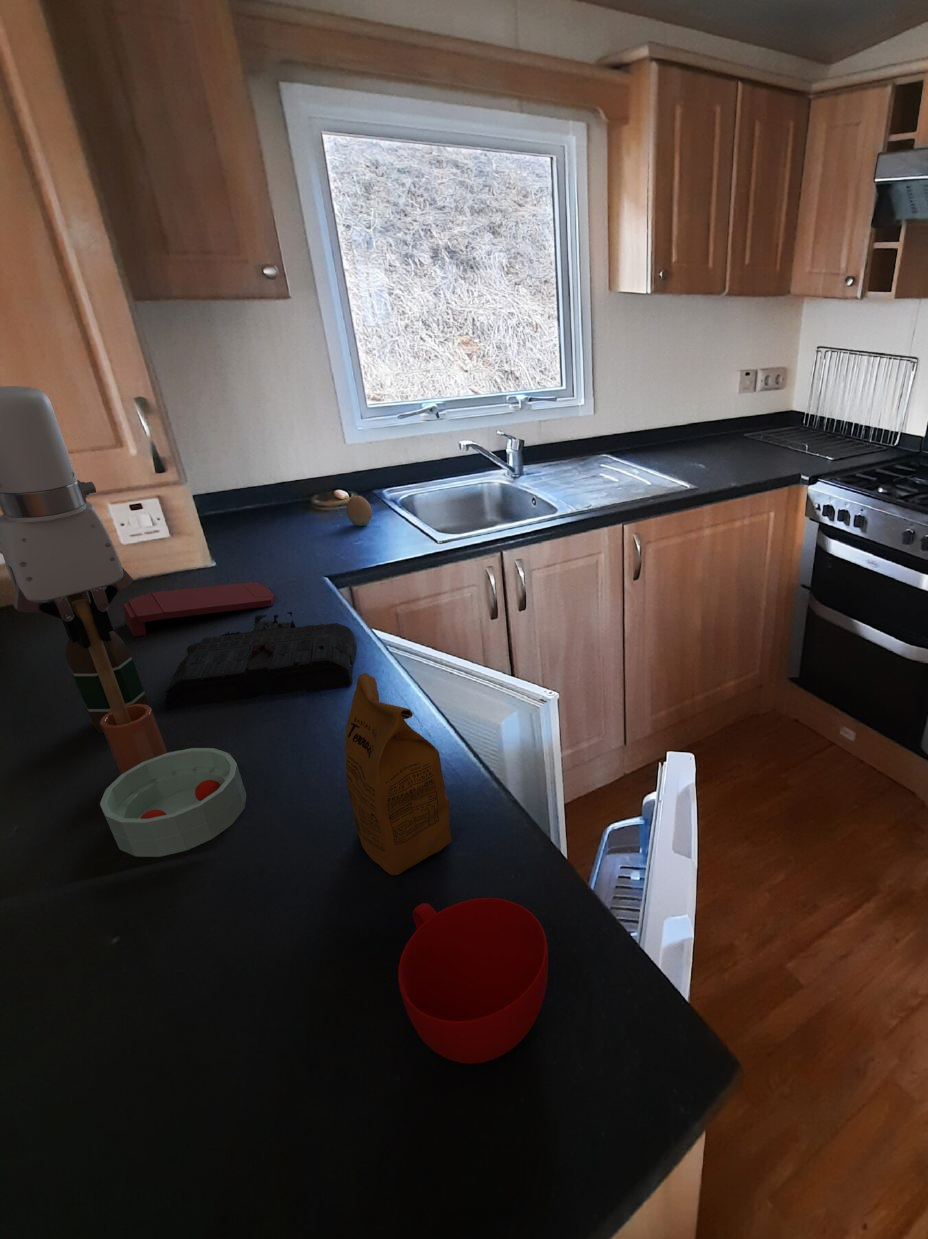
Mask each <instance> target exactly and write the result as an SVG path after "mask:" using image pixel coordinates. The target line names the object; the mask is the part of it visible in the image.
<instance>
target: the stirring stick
mask: <svg viewBox="0 0 928 1239" xmlns="http://www.w3.org/2000/svg"><path fill="white" fill-rule="evenodd" d="M72 606H73V608H74V611H75V613H76V616H77V617H79V618H80V619H81V620H82V623H83V625H84V628H85V631H86V633H87V636H88V639H89V642H90V644H91V646H89V648H88V649H89V651H90V654H91V657H92V660H93V662H94V665H95V668H96V670H97V673H98V676H99V678H100V681H101V684H102V686H103V689H104V692H105V695H106V697H107V700H108V703H109V705H110V708H111V711H112V713H113V716H114V719H115V721H116V724H117V725H122V724H128V723H130V722H132V721H131V719H130V716H129V714H128V711H127V708H126V705H125V703H124V700H123V697H122V694H121V691H120V689H119V686H118V683H117V680H116V678H115V675H114V672H113V669H112V666H111V664H110V661H109V658H108V655H107V653H106V650H105V647H104V644H103V641H102V639H101V636H100V633H99V631H98V628H97V625H96V622H95V620H94V617H93V614H92V611H91V608H90V605H89V603H88V600H87V599H80V600H76V601H73V602H72Z"/></svg>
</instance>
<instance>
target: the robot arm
mask: <svg viewBox="0 0 928 1239" xmlns="http://www.w3.org/2000/svg"><path fill="white" fill-rule="evenodd" d="M68 451H69V450H68V448H67V445H66V442H65V439H64V436H63V432H62V431H61V428H60V425H59V421H58V419H57V416H56V413H55V410H54V407H53V404H52V402H51V400H50V398H49V397H48V396H47V394H46V393H45V392H44V391H42V390H40V389H38V388H36V387H31V386H23V385H22V386H21V385H20V386H19V385H18V386H16V385H11V386H10V385H8V386H7V385H6V386H0V509H1V512H2V514H0V550H1V554H2V558H3V560H4V563H5V566H6V569H7V572H8V575H9V578H10V581H11V584H12V586H13V587H14V599H13V608H14V609H15V610H16V611H18V612H19V613H44V614H47V615H50V616H53V617H55V618H58V619H61V621H62V624H63V627H64V630H65V632H66V635H67V637H68V640H69V639H70V641H71V642H72V643H74V642H77V643H78V644H79V645H80V646H82V647H83V648H84V649H86V648H89V646H91V644H90V642H89V639H88V636H87V633H86V631H85V628H84V625H83V623H82V620H81V619H80V618H79V617H77V616H76V613H74V612H73V611H72V609H71V607H70V604H69V602H68V599H67V597H66V596H70V595H73V594H77V593H81V592H85V591H86V592H87V595H88V598H89V602H90V604H89V605H90V608H91V611H92V614H93V617H94V620H95V622H96V625H97V628H98V631H99V633H100V636H101V639H102V640H103V641H104V642H105V641H106V642H108V641H112V640H111V637H110V634H109V632H111V631H114V627H113V624H112V621H111V619H110V616H109V613H108V610H109V609H110V604H111V603H112V601H113V600H114V599H115V597H116V596H117V594H118V592H120V591H122V590H125V588H127V587H128V586H130V585H131V584H133V582H134V578H133V576H131V575H130V574H129V573H128V571H126V569H125V568H124V567H123V565H122V562H121V560H120V557H119V555H118V552H117V549H116V547H115V545H114V543H113V540H112V539H111V536H110V534H109V532H108V530H107V527H106V526H105V523H104V522H103V520H102V518H101V516H100V515H99V513H98V512H97V510H96V508H95V507H94V506H93V504H92V503H91V502H89V501H87V497H88V496H90V494H94V493H97V488H96V485H95V484H94V482H93V481H86V482H85V481H80V480H79V479H77V476H76V472H75V469H74V465H73V463H72V460H71V458H70V453H69V452H68Z"/></svg>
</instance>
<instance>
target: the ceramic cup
mask: <svg viewBox="0 0 928 1239" xmlns="http://www.w3.org/2000/svg"><path fill="white" fill-rule="evenodd" d="M412 918H413V921H414V924H415V926H416V929H417V930H415V931H414V933H413V934H412V936H411V937H410V939H408V941H407V942H406V945H405V946H404V949H403V951H402V953H401V955H400V960H399V962H398V968H397V969H398V970H397V972H398V973H397V974H398V977H397V978H398V979H397V980H398V986H399V991H400V995H401V999H402V1002H403V1005H404V1008H405V1010H406V1013H407V1015H408V1018H409V1020H410V1022H411V1024H412V1026H413V1027H414V1030H415V1031H416V1033H417V1034H418V1036H419V1037H420V1039H421V1040H422V1041H423V1042H424V1043H425V1044H426V1045H427V1046H428V1047H429V1048H430V1049H431V1050H432V1051H433V1052H434V1053H436V1054H437V1055H440V1056H441V1057H443V1058H445V1059H447V1060H449V1061H452V1062H455V1063H458V1064H469V1065H473V1064H483V1063H486V1062H489V1061H492V1060H493V1061H494V1060H495V1059H497V1058H500V1057H502V1056H503V1055H505V1054H507V1053H508V1052H510V1051H511V1050H512V1049H514V1048H515V1047H516V1046H517V1045H518V1044H519V1043H520V1042H521V1041H522V1040H523V1039H524V1038H525V1037H526V1036H527V1034H528V1033H529V1032H530V1031H531V1029H532V1027H533V1026H534V1024H535V1022H536V1020H537V1018H538V1016H539V1013H540V1011H541V1010H542V1006H543V1003H544V998H545V995H546V990H547V987H548V986H547V985H548V977H549V976H548V973H549V946H548V941H547V937H546V932H545V931H544V928H543V926H542V925H541V922H540V921H539V920H538V918H537V917H536V916H535V915H534V914H533V913H532V912H531V911H529V909H527V908H526V907H524V906H523V905H520V904H518V903H515V902H514V901H510V900H506V899H503V898H494V897H483V898H482V897H481V898H473V899H469V900H464V901H461V902H458V903H455V904H452V905H450V906H448V907H446V908H444V909H442V910H441V911H438V912H436V910H435V909H434V908H433V907H432V905H430V904H429V903H428V902H427V903H426V902H424V903H420V904H419V905H417V906H416V907H415V908H414V909H413V911H412Z"/></svg>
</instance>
